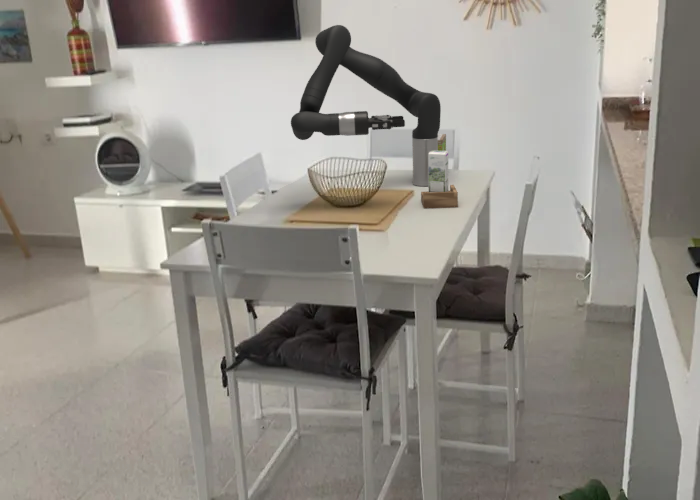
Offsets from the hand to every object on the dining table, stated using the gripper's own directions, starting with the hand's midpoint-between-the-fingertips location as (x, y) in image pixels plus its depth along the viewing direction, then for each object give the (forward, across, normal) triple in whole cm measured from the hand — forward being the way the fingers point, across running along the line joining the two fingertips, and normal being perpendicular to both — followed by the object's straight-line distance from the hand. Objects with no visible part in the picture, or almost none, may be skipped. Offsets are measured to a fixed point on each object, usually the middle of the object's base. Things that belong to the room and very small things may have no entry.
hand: (404, 121), depth 239 cm
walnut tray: (+11, 0, +28) cm, 30 cm away
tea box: (+13, +48, +28) cm, 58 cm away
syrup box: (+11, 0, +25) cm, 27 cm away
